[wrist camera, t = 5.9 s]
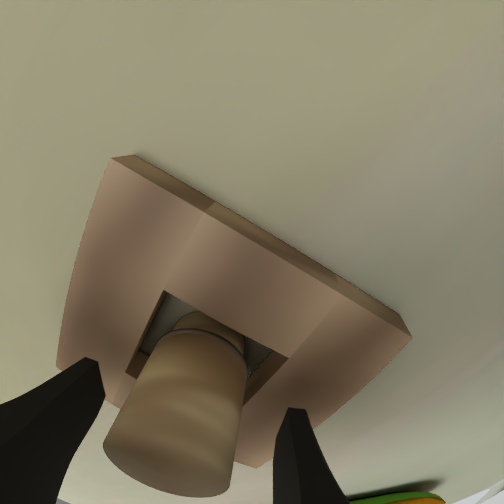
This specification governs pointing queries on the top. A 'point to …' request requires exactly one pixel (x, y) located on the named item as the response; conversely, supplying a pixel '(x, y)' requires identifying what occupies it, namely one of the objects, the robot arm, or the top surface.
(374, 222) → the top surface
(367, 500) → the corn
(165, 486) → the peg
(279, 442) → the robot arm
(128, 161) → the board
